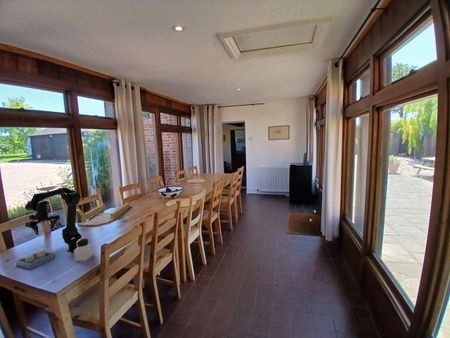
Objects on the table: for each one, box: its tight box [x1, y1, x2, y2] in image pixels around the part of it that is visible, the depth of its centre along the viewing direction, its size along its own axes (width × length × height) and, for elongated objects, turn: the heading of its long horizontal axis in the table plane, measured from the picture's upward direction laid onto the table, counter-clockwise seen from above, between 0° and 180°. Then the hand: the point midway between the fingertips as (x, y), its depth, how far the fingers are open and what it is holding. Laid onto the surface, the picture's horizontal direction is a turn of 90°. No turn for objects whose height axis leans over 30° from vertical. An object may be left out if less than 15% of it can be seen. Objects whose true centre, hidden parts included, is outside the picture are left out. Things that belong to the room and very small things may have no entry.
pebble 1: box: [24, 254, 36, 263], centre depth 135 cm, size 4×4×4 cm
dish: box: [15, 251, 56, 270], centre depth 138 cm, size 14×14×3 cm
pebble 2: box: [35, 250, 46, 260], centre depth 141 cm, size 4×4×4 cm
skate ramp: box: [75, 202, 130, 223], centre depth 224 cm, size 40×35×16 cm
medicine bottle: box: [73, 238, 94, 262], centre depth 140 cm, size 7×7×12 cm
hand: (44, 232), depth 154 cm, fingers open, 9 cm apart
